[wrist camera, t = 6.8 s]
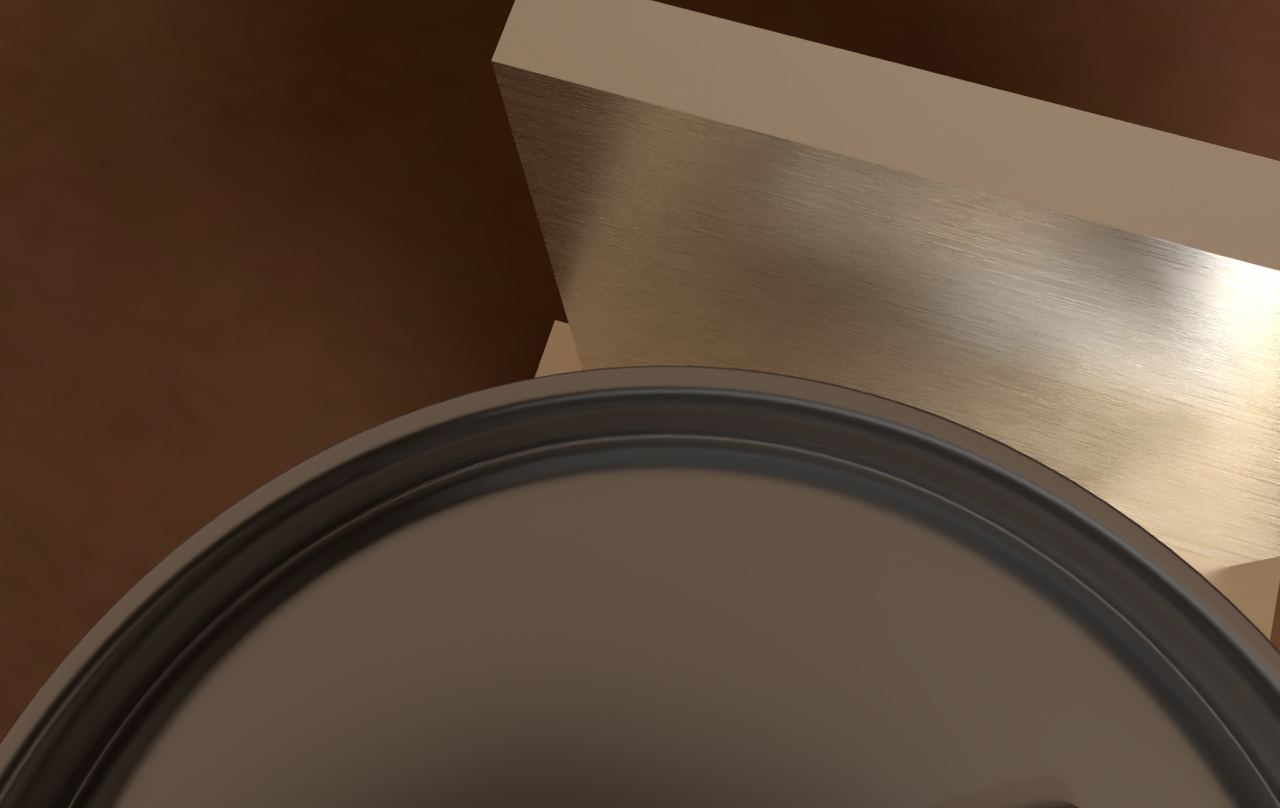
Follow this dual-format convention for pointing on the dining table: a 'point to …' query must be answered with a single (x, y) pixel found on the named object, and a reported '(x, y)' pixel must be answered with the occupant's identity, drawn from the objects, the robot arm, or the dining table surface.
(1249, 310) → the cup bracket
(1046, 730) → the can
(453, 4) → the dining table surface
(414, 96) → the dining table surface
